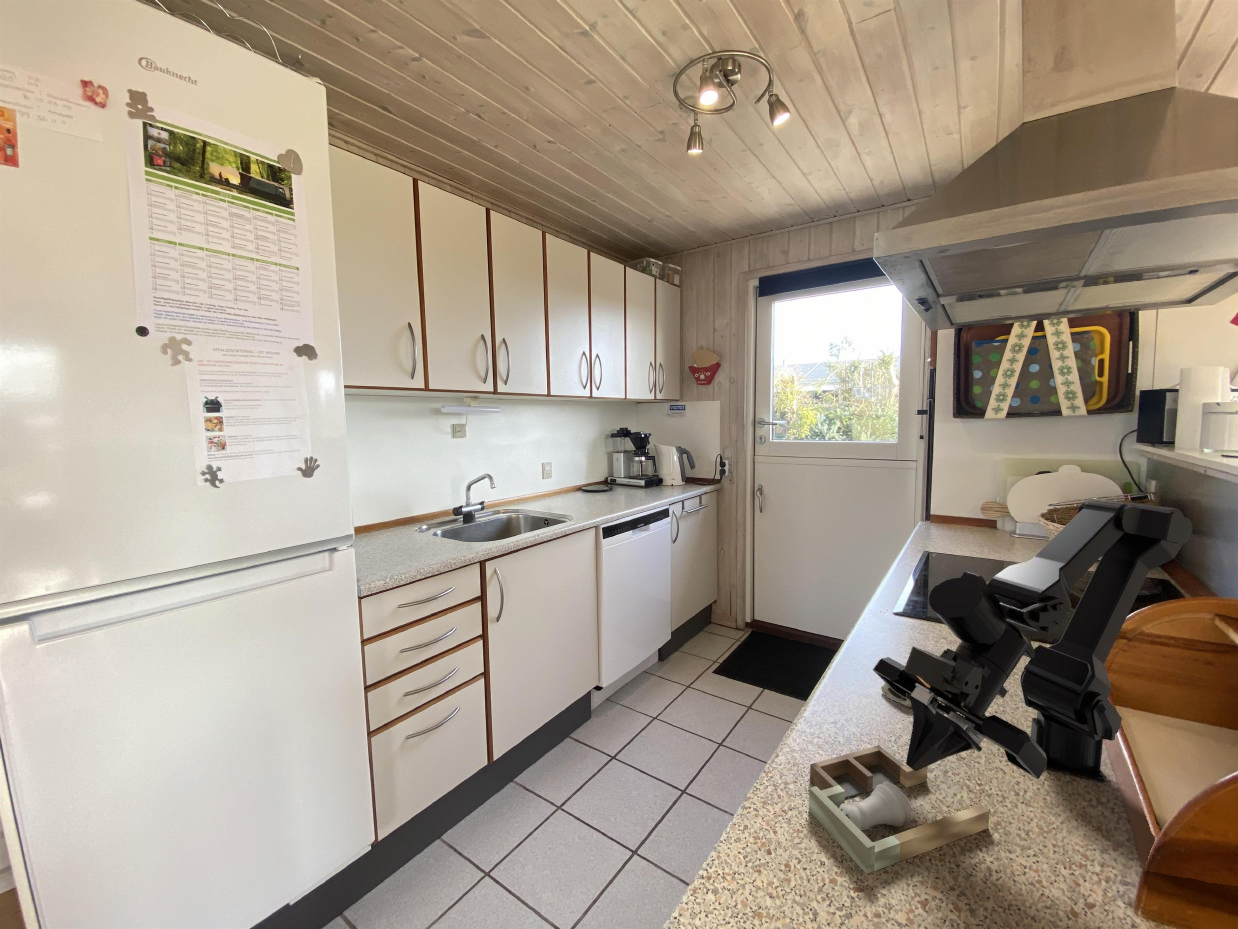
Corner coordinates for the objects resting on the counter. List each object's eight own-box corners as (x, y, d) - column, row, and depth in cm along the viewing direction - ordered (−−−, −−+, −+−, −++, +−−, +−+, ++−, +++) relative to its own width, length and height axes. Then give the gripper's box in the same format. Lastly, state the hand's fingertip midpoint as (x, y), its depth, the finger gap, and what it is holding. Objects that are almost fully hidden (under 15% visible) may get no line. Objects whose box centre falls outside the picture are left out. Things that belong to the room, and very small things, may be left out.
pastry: (910, 681, 91) (911, 661, 91) (949, 699, 86) (950, 678, 85) (877, 695, 87) (878, 674, 87) (916, 715, 81) (917, 692, 81)
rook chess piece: (878, 778, 63) (824, 797, 60) (903, 782, 59) (846, 803, 57) (894, 820, 61) (838, 841, 59) (920, 827, 57) (862, 850, 55)
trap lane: (893, 755, 71) (894, 735, 71) (988, 828, 59) (990, 804, 58) (786, 786, 65) (786, 765, 65) (866, 874, 53) (867, 847, 53)
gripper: (885, 599, 69) (817, 691, 66) (1035, 661, 51) (951, 790, 49) (926, 644, 72) (863, 734, 70) (1081, 718, 54) (1003, 841, 52)
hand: (910, 767), depth 60 cm, fingers closed
